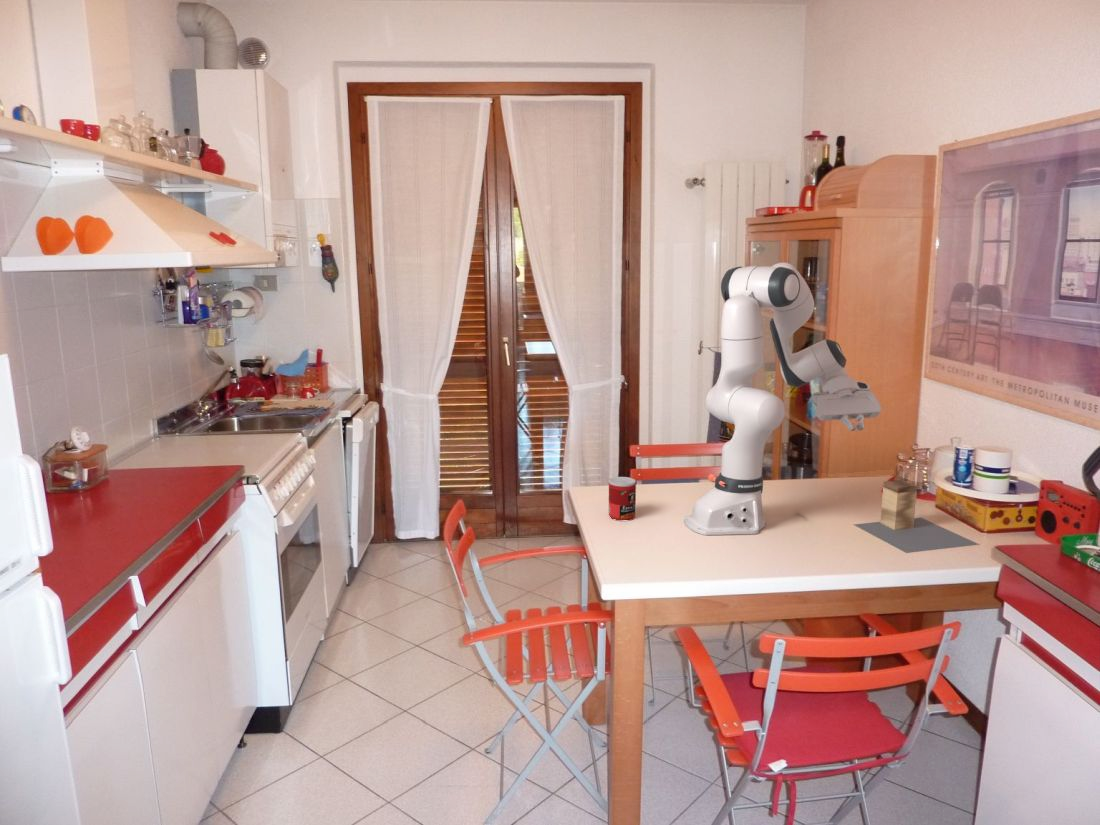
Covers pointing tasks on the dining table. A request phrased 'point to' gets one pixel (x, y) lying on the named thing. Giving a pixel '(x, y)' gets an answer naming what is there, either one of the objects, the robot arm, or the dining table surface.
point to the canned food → (622, 498)
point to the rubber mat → (917, 536)
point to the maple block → (898, 504)
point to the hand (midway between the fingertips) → (857, 429)
